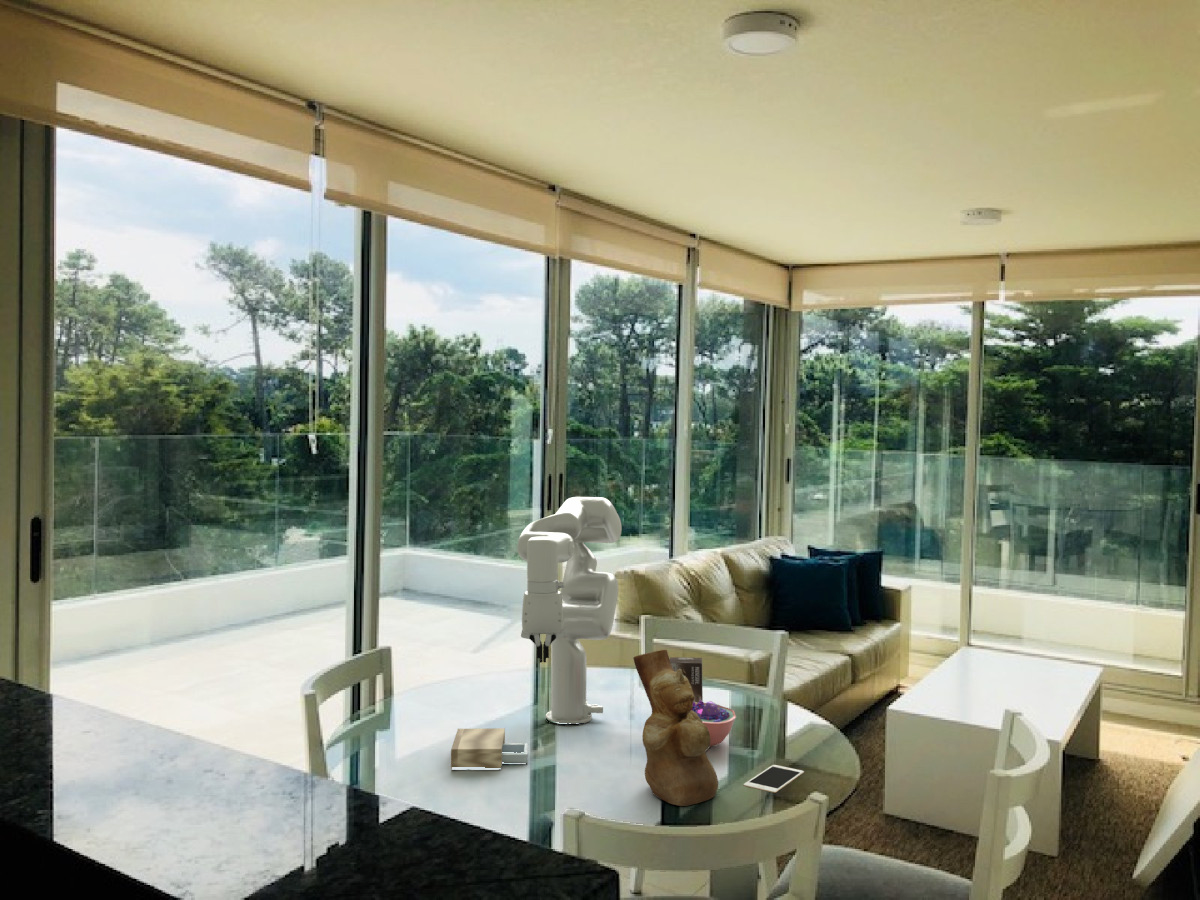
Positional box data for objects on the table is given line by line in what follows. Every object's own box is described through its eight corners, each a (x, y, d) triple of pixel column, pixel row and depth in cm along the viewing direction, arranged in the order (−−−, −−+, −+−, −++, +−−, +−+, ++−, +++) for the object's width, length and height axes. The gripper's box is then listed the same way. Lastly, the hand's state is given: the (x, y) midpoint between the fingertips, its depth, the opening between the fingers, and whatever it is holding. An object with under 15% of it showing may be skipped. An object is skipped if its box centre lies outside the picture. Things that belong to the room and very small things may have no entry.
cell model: (683, 728, 259) (683, 685, 259) (749, 744, 246) (749, 699, 246) (645, 744, 246) (645, 699, 246) (712, 761, 233) (712, 714, 233)
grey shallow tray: (527, 753, 238) (527, 743, 238) (527, 764, 230) (527, 754, 230) (469, 754, 238) (469, 743, 237) (467, 765, 230) (467, 754, 230)
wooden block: (504, 748, 242) (504, 728, 242) (501, 770, 226) (501, 748, 226) (457, 748, 241) (458, 728, 241) (451, 770, 226) (451, 749, 226)
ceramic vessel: (676, 813, 201) (677, 668, 201) (613, 782, 219) (613, 648, 218) (732, 797, 211) (734, 658, 210) (667, 768, 228) (668, 640, 228)
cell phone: (742, 787, 218) (742, 784, 218) (773, 766, 231) (773, 764, 231) (775, 794, 213) (775, 791, 213) (804, 773, 227) (804, 770, 227)
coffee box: (702, 715, 271) (702, 657, 271) (702, 722, 264) (703, 662, 264) (669, 714, 272) (669, 656, 271) (668, 721, 265) (669, 661, 265)
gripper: (572, 584, 245) (572, 656, 246) (512, 584, 244) (512, 657, 245) (573, 589, 238) (573, 664, 238) (511, 590, 237) (512, 665, 237)
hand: (542, 660), depth 242 cm, fingers closed
